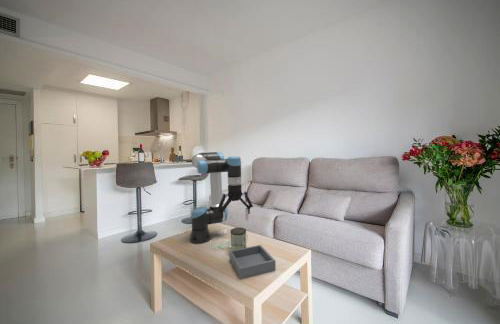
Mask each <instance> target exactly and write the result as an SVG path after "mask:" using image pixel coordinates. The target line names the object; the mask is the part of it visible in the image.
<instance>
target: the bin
mask: <svg viewBox="0 0 500 324" xmlns="http://www.w3.org/2000/svg"><path fill="white" fill-rule="evenodd" d="M229 261H230V262H231V264H232V267H233V269H235V272H236V274H237V276H238V277H239V279H240V280H242V279H246V278H249V277H255V276H258V275H262V274H266V273H270V272H274V271H276V259H274V257H273V256H272V255H271V254H270V252H268V251H267V250H266V248H264V247H263V245H261V244H257V245H252V246H248V247H247V246H246V248H242V249H237V250H232V251H231V250H229Z"/></svg>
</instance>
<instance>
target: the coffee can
mask: <svg viewBox="0 0 500 324" xmlns="http://www.w3.org/2000/svg"><path fill="white" fill-rule="evenodd" d="M229 231H230V232H229V233H230V251H232V250H237V249H242V248H247V229H246V228H244V227H234V228H232V229H230V230H229Z"/></svg>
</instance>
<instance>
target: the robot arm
mask: <svg viewBox="0 0 500 324" xmlns="http://www.w3.org/2000/svg"><path fill="white" fill-rule="evenodd" d="M191 164H192V166H193V167H194V168H196V170H197V173H198V174H201V175H202V174H203V175H204V174H209V179H210V180H209V181H210V201H211V203H210V204H209V208H208V207H207V206H199V207H197V208H194V209H192V211H191V214H190V215H191V216H190V217H191V218H190V219H191V232H190V236H189V242H190V243H192V244H199V245H200V244H204V243H207V242H209V241H210V240H211V239H210V235H211V232H210V230H209V225H214V224H220V223H222V224H223V225H225V224H226V221H227V220H228V215H229V212H228V211H229V210H228V206H229V204H231V203H232V202H238V201H240V202H241V203H242V204H243V206H245V210H244V211H245V220H246V221H249V215H250V212H251V210H250V209H251V208H254V207H253V206H254V205H253V203H252V201H251V200H250V197H249V196H248V192H247V191H243V190H242V159H241V157H240V156H236V155H235V156H228V157H227V158H225V156H224V154H223V153H222V152H221V151H215V152H213V151H211V152H199V153H196V154H195V155H193V157H191ZM222 173H227V184H228V185H227V193H223V185H222V184H223V183H222ZM242 196H243V197H245V200H246V201H245V200H244V199H243V198H242ZM226 199H227V200H226ZM225 200H226V201H225Z"/></svg>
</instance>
